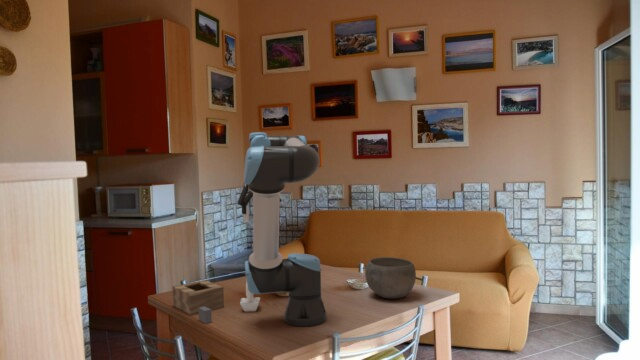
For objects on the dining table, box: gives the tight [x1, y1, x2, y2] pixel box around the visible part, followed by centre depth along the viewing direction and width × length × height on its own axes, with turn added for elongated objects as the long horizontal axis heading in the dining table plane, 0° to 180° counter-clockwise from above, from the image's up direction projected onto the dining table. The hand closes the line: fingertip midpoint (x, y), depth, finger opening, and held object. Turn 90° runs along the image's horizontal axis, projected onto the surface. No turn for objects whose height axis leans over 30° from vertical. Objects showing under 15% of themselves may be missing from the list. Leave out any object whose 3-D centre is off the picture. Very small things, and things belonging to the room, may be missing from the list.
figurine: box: [239, 271, 261, 313], centre depth 176 cm, size 7×9×15 cm
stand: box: [198, 307, 212, 324], centre depth 164 cm, size 5×2×4 cm, turn 41°
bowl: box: [364, 256, 417, 300], centre depth 190 cm, size 21×21×15 cm
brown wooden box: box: [172, 279, 225, 316], centre depth 181 cm, size 16×14×8 cm
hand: (260, 220), depth 191 cm, fingers open, 13 cm apart
